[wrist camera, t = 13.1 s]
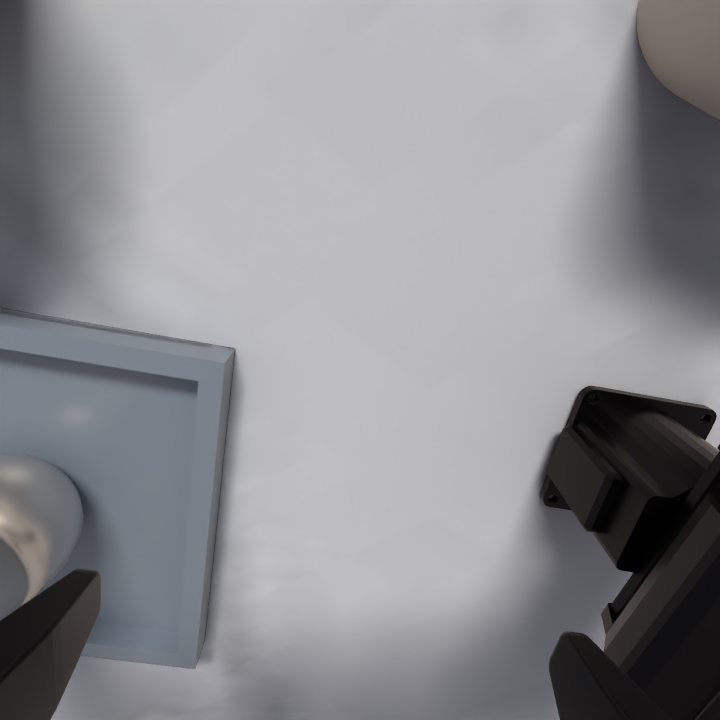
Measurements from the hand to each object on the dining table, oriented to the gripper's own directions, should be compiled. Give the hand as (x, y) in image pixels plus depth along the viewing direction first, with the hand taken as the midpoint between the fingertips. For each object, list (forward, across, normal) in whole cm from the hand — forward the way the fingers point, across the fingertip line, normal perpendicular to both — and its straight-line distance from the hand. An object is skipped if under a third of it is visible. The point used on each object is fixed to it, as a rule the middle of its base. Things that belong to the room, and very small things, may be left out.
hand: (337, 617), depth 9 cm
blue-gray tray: (+13, +14, +9) cm, 21 cm away
